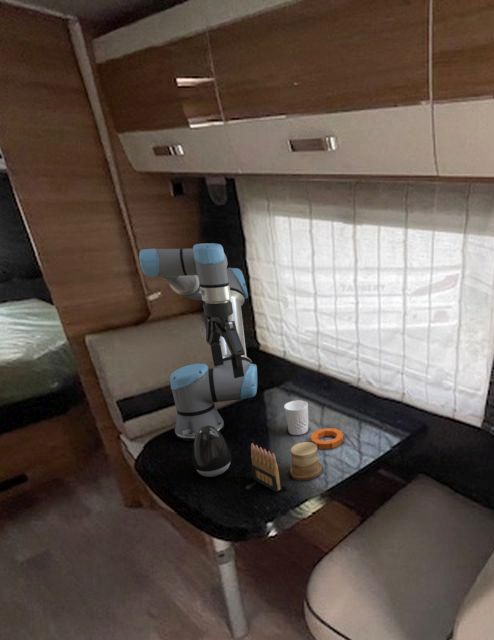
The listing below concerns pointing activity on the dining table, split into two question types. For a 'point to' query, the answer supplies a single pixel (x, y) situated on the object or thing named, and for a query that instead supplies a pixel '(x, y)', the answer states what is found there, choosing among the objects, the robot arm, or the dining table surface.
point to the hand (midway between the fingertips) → (228, 370)
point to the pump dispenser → (210, 452)
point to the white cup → (297, 417)
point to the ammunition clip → (265, 468)
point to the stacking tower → (305, 461)
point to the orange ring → (327, 432)
